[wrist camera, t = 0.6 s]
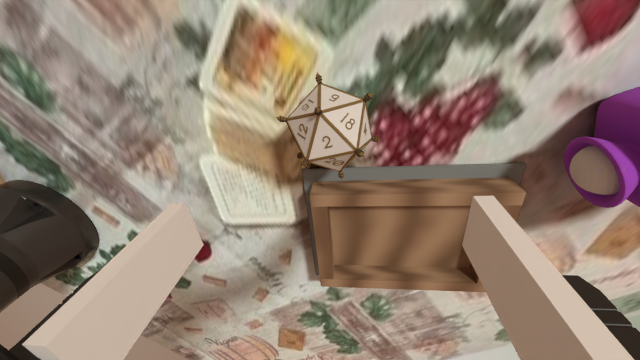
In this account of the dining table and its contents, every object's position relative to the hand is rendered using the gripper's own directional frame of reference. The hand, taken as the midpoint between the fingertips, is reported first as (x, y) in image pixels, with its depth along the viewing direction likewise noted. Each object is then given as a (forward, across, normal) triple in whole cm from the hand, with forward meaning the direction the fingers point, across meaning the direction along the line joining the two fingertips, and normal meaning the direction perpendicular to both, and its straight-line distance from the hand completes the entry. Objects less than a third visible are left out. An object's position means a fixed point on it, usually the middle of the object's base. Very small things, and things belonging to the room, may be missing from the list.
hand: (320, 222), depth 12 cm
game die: (+17, 0, 0) cm, 18 cm away
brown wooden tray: (+17, +7, -15) cm, 24 cm away
